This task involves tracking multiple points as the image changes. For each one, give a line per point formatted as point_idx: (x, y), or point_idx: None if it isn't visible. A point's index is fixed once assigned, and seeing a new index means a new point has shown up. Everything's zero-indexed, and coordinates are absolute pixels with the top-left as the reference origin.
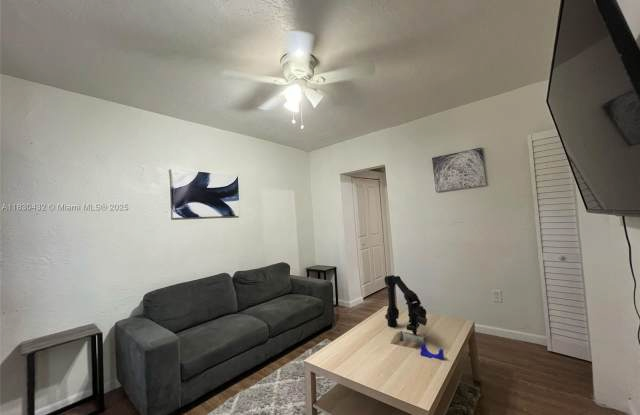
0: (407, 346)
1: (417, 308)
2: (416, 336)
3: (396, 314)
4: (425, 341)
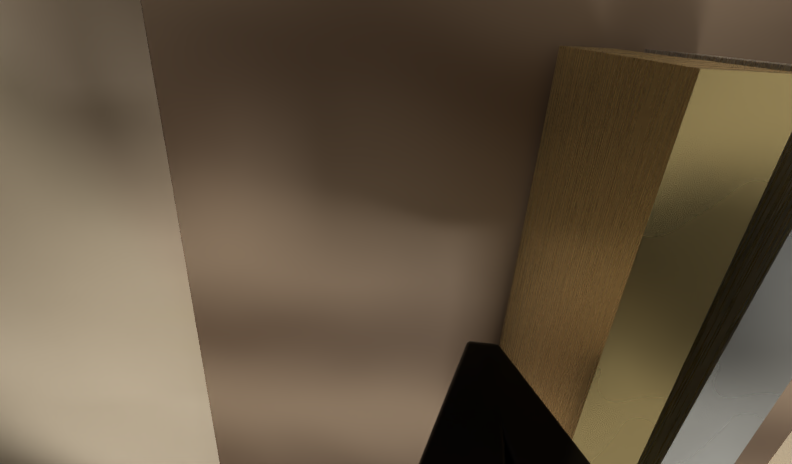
0: (784, 406)
1: None
2: (768, 383)
3: None
4: (436, 11)
